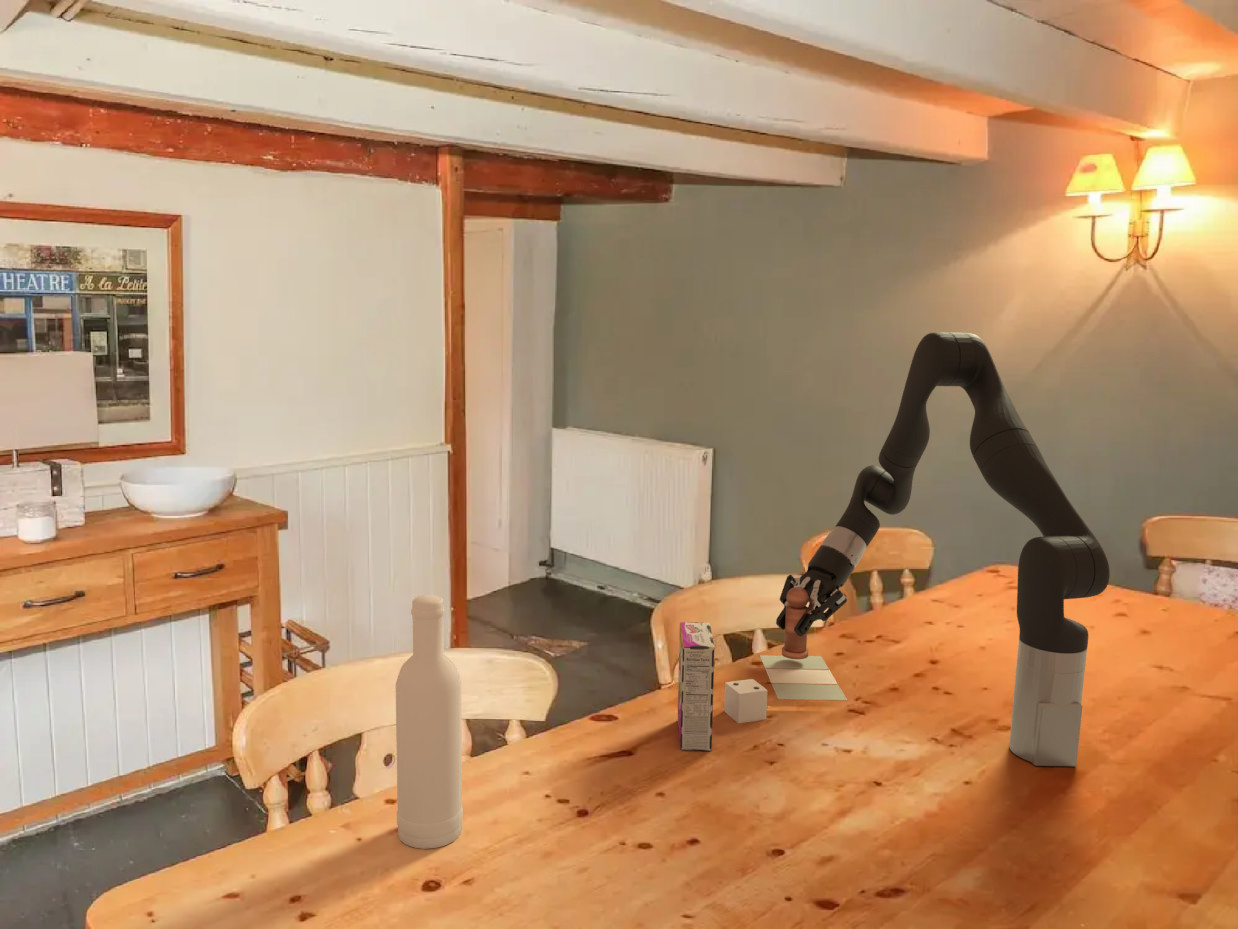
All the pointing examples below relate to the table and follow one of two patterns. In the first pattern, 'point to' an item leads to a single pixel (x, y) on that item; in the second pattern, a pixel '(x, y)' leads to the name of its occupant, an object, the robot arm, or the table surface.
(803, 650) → the pawn
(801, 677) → the board
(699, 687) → the candy bar box
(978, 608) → the table surface
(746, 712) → the die
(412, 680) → the bottle
